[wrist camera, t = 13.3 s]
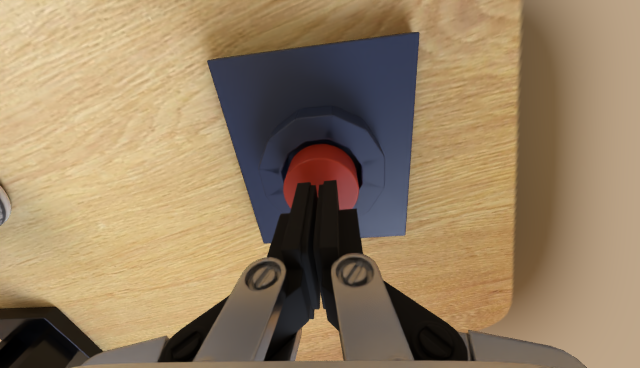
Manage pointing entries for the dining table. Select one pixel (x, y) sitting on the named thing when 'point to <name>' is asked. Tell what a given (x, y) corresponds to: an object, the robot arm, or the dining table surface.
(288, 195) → the button
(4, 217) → the pill bottle
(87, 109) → the dining table surface
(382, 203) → the button block
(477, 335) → the robot arm
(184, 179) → the dining table surface
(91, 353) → the switch bracket
